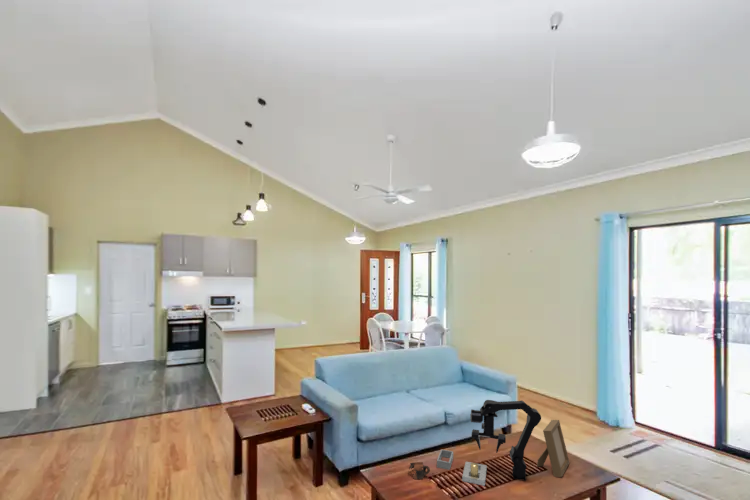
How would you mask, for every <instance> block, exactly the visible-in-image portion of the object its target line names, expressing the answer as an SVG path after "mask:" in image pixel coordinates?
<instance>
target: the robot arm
mask: <svg viewBox="0 0 750 500" xmlns="http://www.w3.org/2000/svg"><path fill="white" fill-rule="evenodd" d="M513 410H522V411H523V412H524V413H525V414H526V421H525V425H524V428H523V429H522V431H521V433H520V436H519V439H518V441H517V444H515V446H513V445H511V446H510V447H511V448H510V450H509V457H510V460H511V462H512V464H513V466H512V476H513V477H512V478H513V479H514V480H520V481H527V477H526V475H527V474H526V471H527V467H528V466H527V464H526V462H525V459H524V456H525V455H524V453H525V449H526V448H527V445H528V442H529V440H530V438H531V435H532V433H533V431H534V428H535V427H536V426H538V425H539V423H540V422H541V421H542V416H541V413H540V412H539V411H538V410H537V409H536V408H533V407H531V406H530V405H529V404H527V403H525V401H524V400H514V401H513V400H511V401H510V400H509V401H496V400H491V399H485V401H484V402H483V404H482V406H481V407H480V408H479V410H478V409H476V410H475V409H471V410H470V423H474V424H475V423H477V424H481V429H482V430H483V432H480V430H479V429H472V431H471V438H472V439H473V440H475V441H476V443H477V446H478V449H479V450H481V448H482V446H481V437H483V438H489V439H495V440H497V443H496V450H495V451H496V452H495V453H498V452H499V449H500V447H501V445H503V444H506V443H507V442H506V434H504V433H498V435H496V434H495V418H497V417H498V414H497V412H500V411H513Z"/></svg>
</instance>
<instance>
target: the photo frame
mask: <svg viewBox="0 0 750 500" xmlns="http://www.w3.org/2000/svg"><path fill="white" fill-rule="evenodd" d="M542 433H543V437H544V440H545V445H546V447H545V449H543V452H542V453H541V455H540V456H539V457H538V459H537V462H536V467H537V468H540V467H543V466H544V465H545V462H546V461H547V459H548V457H549V462H550V465H551V469H552V473H553V477H557V478H558V477H559V478H563V475H564V474H565V472H566V471H567V468H568V466H569V465H570V459H569V454H568V450H567V447H566V443H565V439H564V434H563V429H562V427H561V422H560V419H551V420H550V421H549V422H548V424H547V425H546V427H545V428H544V429H543V430H542Z"/></svg>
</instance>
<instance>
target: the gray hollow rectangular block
mask: <svg viewBox="0 0 750 500" xmlns="http://www.w3.org/2000/svg"><path fill="white" fill-rule="evenodd" d="M442 458H448V459H449V460H448V461H446V460H442ZM453 460H454V451H452V450H448V449H447V450H446V449H440V451H439V454H438V456H437V460H436V468H437V469H444V470H448V471H449V470H451V466H452V464H453Z"/></svg>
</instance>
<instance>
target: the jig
mask: <svg viewBox="0 0 750 500" xmlns="http://www.w3.org/2000/svg"><path fill="white" fill-rule="evenodd" d="M464 463H465V464H464V467H463V470H462V477H461V479H462V480H461V481H462V482H464V483H469V484H475V485H480V486H484V487H485V486H486V479H487V471H488V470H487V468H488V467H487V464H483V463H477V464H478V478H475V477H471V463H472V462H471V461H465V462H464Z"/></svg>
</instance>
